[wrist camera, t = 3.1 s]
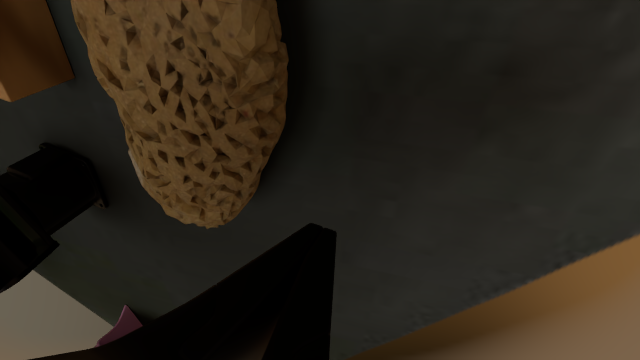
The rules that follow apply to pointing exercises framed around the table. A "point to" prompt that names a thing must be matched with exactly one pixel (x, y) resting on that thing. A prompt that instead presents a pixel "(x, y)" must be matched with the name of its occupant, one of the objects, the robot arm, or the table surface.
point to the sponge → (192, 95)
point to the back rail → (29, 50)
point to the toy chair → (121, 327)
